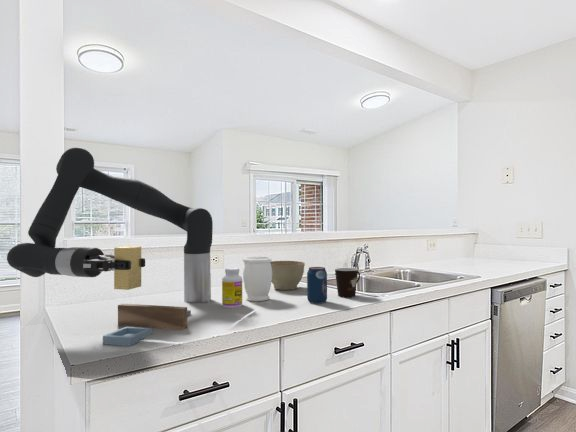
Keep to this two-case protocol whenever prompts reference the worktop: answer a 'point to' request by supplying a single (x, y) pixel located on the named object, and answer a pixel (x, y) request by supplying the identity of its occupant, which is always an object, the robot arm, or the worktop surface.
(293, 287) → the planter bowl
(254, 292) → the jar
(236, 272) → the supplement bottle
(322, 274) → the soda can
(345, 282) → the coffee mug
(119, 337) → the socket
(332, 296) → the worktop surface
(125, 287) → the block
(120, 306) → the board
